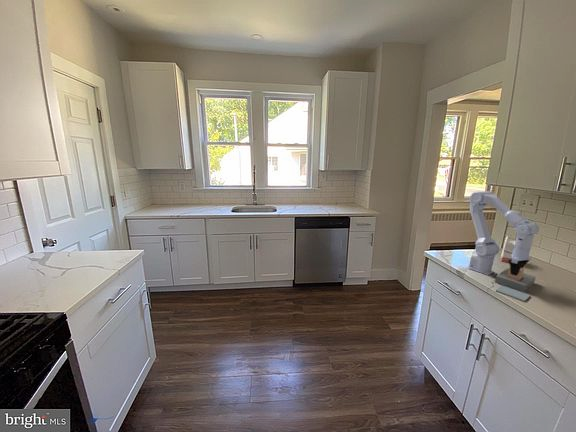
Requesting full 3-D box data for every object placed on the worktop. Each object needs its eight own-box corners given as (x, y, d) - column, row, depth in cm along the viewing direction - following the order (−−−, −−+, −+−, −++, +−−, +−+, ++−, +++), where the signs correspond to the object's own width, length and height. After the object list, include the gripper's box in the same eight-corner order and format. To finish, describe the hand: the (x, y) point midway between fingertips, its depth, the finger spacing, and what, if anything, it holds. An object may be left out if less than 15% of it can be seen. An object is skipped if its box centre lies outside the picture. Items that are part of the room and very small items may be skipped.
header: (494, 282, 121) (496, 275, 120) (505, 274, 130) (507, 268, 129) (524, 292, 112) (525, 285, 112) (534, 283, 121) (535, 276, 120)
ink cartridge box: (512, 263, 143) (518, 240, 140) (501, 261, 146) (506, 238, 143) (511, 259, 150) (516, 236, 146) (500, 257, 153) (506, 234, 149)
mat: (495, 291, 113) (496, 290, 113) (502, 286, 117) (502, 285, 117) (524, 301, 105) (524, 300, 105) (530, 296, 109) (530, 295, 109)
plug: (505, 281, 121) (509, 267, 119) (508, 279, 123) (512, 264, 121) (517, 285, 117) (521, 270, 115) (520, 283, 119) (524, 268, 117)
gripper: (528, 253, 108) (521, 280, 112) (538, 247, 116) (530, 272, 119) (508, 248, 114) (502, 274, 117) (518, 242, 122) (512, 267, 125)
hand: (515, 273), depth 119 cm, fingers closed on plug, 4 cm apart
